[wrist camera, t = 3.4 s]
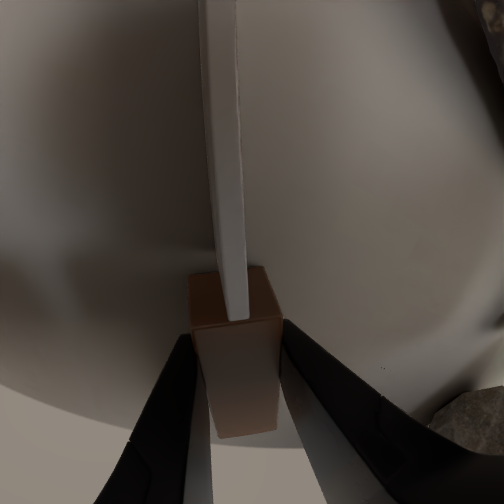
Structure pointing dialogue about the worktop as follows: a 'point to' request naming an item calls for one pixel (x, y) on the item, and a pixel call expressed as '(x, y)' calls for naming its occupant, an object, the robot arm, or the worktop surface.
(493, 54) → the bird model
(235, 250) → the cake knife
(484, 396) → the rock
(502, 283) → the worktop surface
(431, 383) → the worktop surface
